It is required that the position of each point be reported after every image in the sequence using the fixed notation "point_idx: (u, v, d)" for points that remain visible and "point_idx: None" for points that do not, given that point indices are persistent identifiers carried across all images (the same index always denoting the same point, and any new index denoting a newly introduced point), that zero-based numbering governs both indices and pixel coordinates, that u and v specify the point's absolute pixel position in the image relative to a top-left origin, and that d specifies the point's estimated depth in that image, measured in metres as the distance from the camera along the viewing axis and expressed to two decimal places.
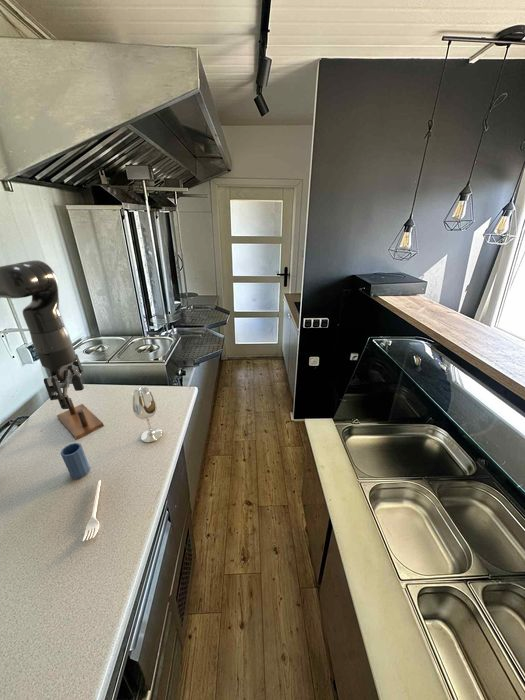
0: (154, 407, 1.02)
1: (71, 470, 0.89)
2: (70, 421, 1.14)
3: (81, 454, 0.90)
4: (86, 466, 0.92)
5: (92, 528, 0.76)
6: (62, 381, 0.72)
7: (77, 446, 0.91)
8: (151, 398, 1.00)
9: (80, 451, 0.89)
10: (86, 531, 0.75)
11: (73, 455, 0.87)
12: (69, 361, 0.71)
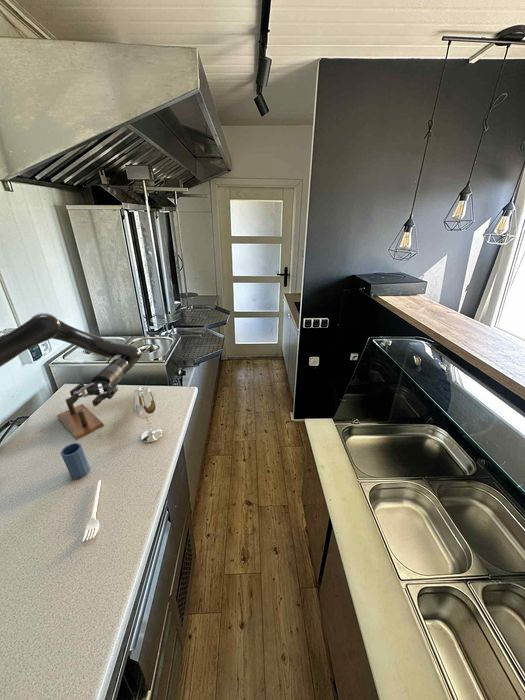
0: (154, 407, 1.02)
1: (71, 470, 0.89)
2: (70, 421, 1.14)
3: (81, 454, 0.90)
4: (86, 466, 0.92)
5: (92, 528, 0.76)
6: None
7: (77, 446, 0.91)
8: (151, 398, 1.00)
9: (80, 451, 0.89)
10: (86, 531, 0.75)
11: (73, 455, 0.87)
12: None
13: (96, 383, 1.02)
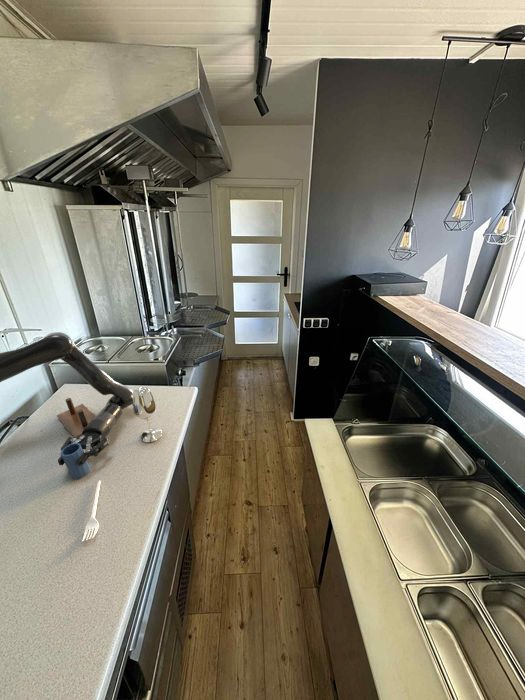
0: (154, 407, 1.02)
1: (71, 470, 0.89)
2: (70, 421, 1.14)
3: (81, 454, 0.90)
4: (86, 466, 0.92)
5: (92, 528, 0.76)
6: (93, 446, 0.95)
7: (77, 446, 0.91)
8: (151, 398, 1.00)
9: (80, 451, 0.89)
10: (86, 531, 0.75)
11: (73, 455, 0.87)
12: None
13: (86, 435, 0.98)
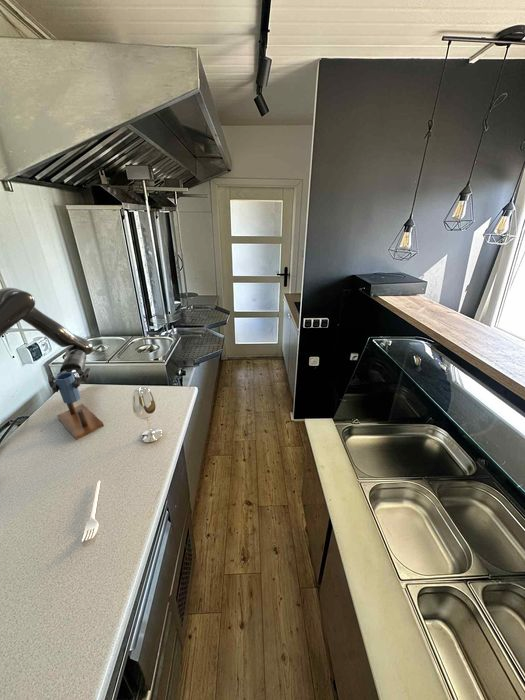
0: (154, 407, 1.02)
1: (67, 394, 1.02)
2: (70, 421, 1.14)
3: (74, 379, 1.03)
4: (78, 391, 1.05)
5: (91, 528, 0.76)
6: None
7: (67, 375, 1.03)
8: (151, 398, 1.00)
9: (73, 376, 1.03)
10: (85, 531, 0.75)
11: (69, 378, 1.00)
12: None
13: (67, 371, 1.09)
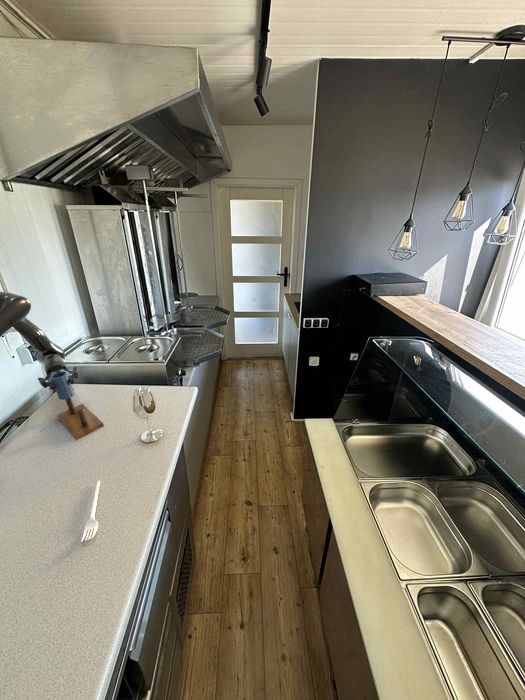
0: (154, 407, 1.02)
1: (65, 390, 1.11)
2: (70, 421, 1.14)
3: None
4: (72, 388, 1.16)
5: (91, 528, 0.76)
6: None
7: (59, 374, 1.13)
8: (151, 398, 1.00)
9: (67, 374, 1.13)
10: (85, 531, 0.75)
11: (65, 376, 1.11)
12: None
13: (54, 372, 1.17)
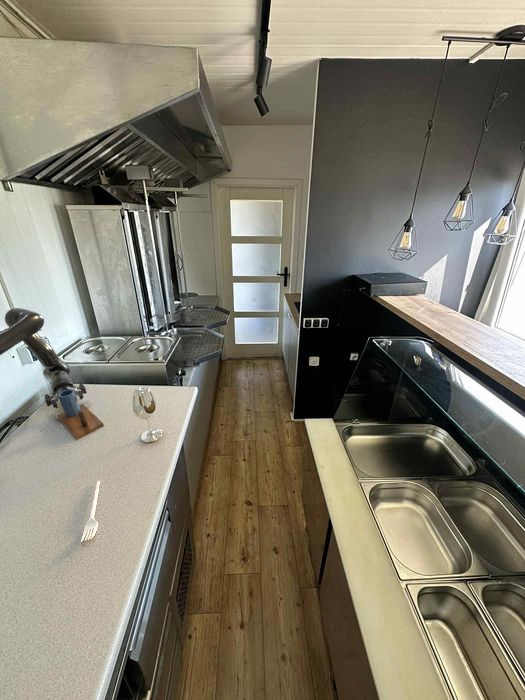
0: (154, 407, 1.02)
1: (72, 408, 1.15)
2: (70, 421, 1.14)
3: None
4: None
5: (90, 529, 0.76)
6: None
7: (66, 392, 1.17)
8: (151, 398, 1.00)
9: None
10: (84, 532, 0.75)
11: (72, 394, 1.14)
12: None
13: None
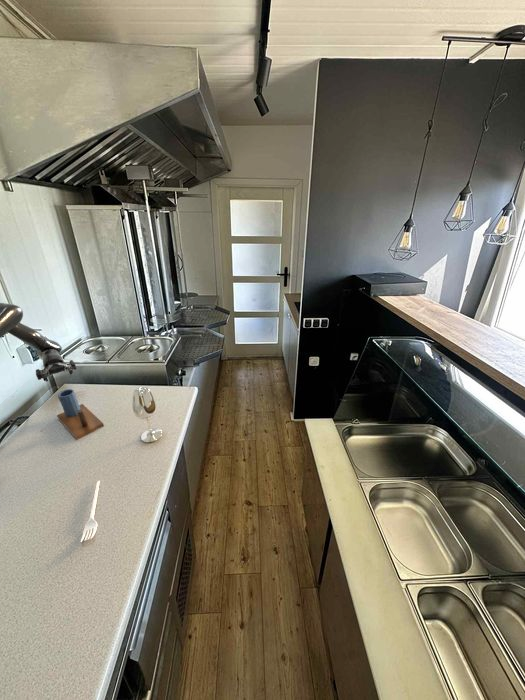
0: (154, 407, 1.02)
1: (72, 408, 1.15)
2: (70, 421, 1.14)
3: None
4: None
5: (90, 529, 0.76)
6: None
7: (66, 392, 1.17)
8: (151, 398, 1.00)
9: None
10: (84, 532, 0.75)
11: (72, 394, 1.14)
12: None
13: None
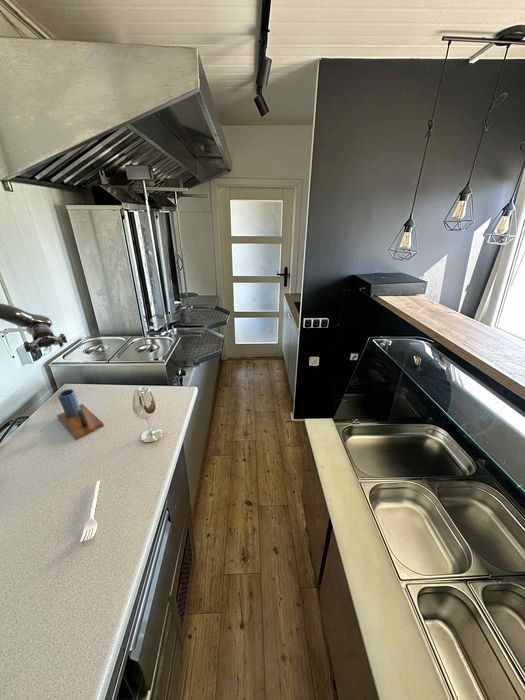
0: (154, 407, 1.02)
1: (72, 408, 1.15)
2: (70, 421, 1.14)
3: None
4: None
5: (90, 529, 0.76)
6: None
7: (66, 392, 1.17)
8: (151, 398, 1.00)
9: None
10: (84, 532, 0.75)
11: (72, 394, 1.14)
12: None
13: None
